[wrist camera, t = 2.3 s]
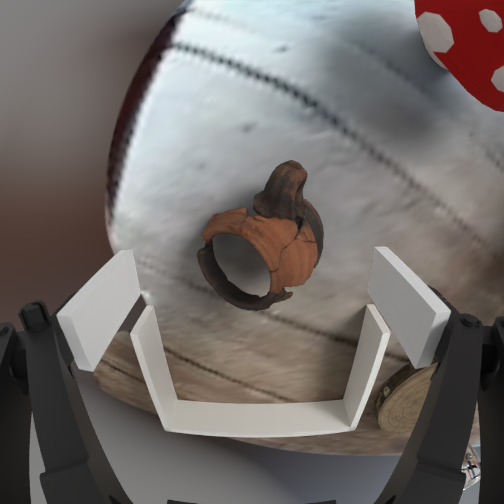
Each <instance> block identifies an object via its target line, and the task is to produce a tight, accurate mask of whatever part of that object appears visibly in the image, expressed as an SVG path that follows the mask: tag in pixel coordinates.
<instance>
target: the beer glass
mask: <svg viewBox="0 0 504 504" xmlns="http://www.w3.org/2000/svg"><path fill="white" fill-rule="evenodd" d="M461 471H462V472H464V473H466V476H467V478H466V482H465V486H464V489H463V490H465V489H467V488H468V487H470V486H472V485H473V484H475V483H476V482H478V481H479V480H480V471H481V461H480V458H479V456H478V454H477V453H476V451H475V450H474V448H473V447H472V446H471V445H470V443H469V442H468V446H467V450H466V454H465V457H464V461H463V464H462V468H461Z"/></svg>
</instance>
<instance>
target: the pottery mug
mask: <svg viewBox="0 0 504 504" xmlns="http://www.w3.org/2000/svg"><path fill="white" fill-rule="evenodd" d="M307 175H308V174H307V171H306V170H305V169H304V168H303V167H302V166H301V164H299V163H298V162H295V161H293V160H290V161H287V162H284V163H282V164H280V165H279V166H277V167H276V169H275V170H274V171H273V173H272V174H271V176H270V178H269V180H268V182H267V183H266V186H265V189H264V191H262V192H260V193H258V194H256V195H255V197H254V202H253V209H254V211H255V212H256V213H258V214H259V215H258V216H253V217H250V216H248V209H247V208H240V209H234V210H229V211H226V212H224V213H222V214H220V215H219V214H218V213H217V214H214V215H213V216H212V218H211V219H210V220H209V222H208V226H207V227H206V229H205V230H204V231H203V232H202V234H201V236H202V237H203V239H204V240H205V247H204V248H202V249H200V250H199V251H198V252H197V257H198V261H199V265H200V267H201V270H202V272H203V274H204V276H205V278H206V280H207V281H208V282H209V284H210V285H211V286H212V287H213V288H214V290H215V291H216V292H217V293H218V295H220V296H221V297H223V298H224V299H225V300H226V301H227V302H229V303H231V304H232V305H234V306H236V307H238V308H241V309H246V310H254V311H258V310H264V309H267V308H269V307H270V306H271V305H272V304H273V303H276V302H280V301H284V300H286V299H288V298H290V297H291V296H292V295H293V292H286V291H285V288H284V287H292V286H299V285H303V284H304V283H305V281H306V280H307V279H309V278H310V276H311V274H312V271H313V268H315V267H316V265H317V264H318V262H319V259H320V257H321V253H322V250H323V237H324V232H323V225H322V222H321V219H320V216H319V214H318V212H317V211H316V210H315V208H314V207H313V206H312V205H311V204H310V203H309V202H308V201H307V200H306V199H303V187H304V184H305V182H306V179H307ZM295 217H297V218H299V219H300V223H299V227H298V226H297V224H296V222H295V221H294V219H295ZM219 233H230V234H235V235H238V236H241V237H242V238H244V239H245V240H247V241H248V242H249V243H250V244H251V245H252V246H253V247H254V248H255V249H256V250H257V251H258V252H259V253H260V255H261V256H262V258H263V259H264V261H265V263H266V265H267V267H268V269H269V271H270V278H271V284H270V290H269V292H268V293H267V295H265V296H263V297H259V296H258V295H251V294H248V293H246V292H243V291H242V290H240V289H239V288H238V287H237V286H235V285H234V284H233V283H231V282H230V281H228V279H227V277H226V275H225V274H224V272H223V271H222V270H221V268H220V267H219V265H218V263H217V261H216V259H215V256H214V251H213V244H212V238H213V237H214V236H215V235H217V234H219Z"/></svg>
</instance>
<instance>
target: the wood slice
mask: <svg viewBox="0 0 504 504" xmlns="http://www.w3.org/2000/svg"><path fill="white" fill-rule="evenodd" d="M438 361H439V360H438V359H437V357H436V356H435V355H434V357H433V360H432V362H431V364H430V366H427V367H423V368H418V369H415V368H414V366H413V364H412V363H411V362H410V363H408V364H407V365H405V366H404V367H403V368H401V369H400V370H399V371H398V372H397V373H395V374H394V375H393V376H392V377H391V378H390V379H389V380H388V381H387V382H386V383H385V385H384V386H383V387H382V388H381V389H380V391H379V393H378V395H377V397H376V399H375V401H374V412H375V415H376V418H377V421H378V424H379V426H380V427H381V429H382V430H384V431H386V432H388V433H405V432H410V431H413V429H414V427H415V424H416V422H417V420H418V417H419V414H420V412H421V409H422V407H423V404H424V401H425V398H426V396H427V393H428V390H429V387H430V384H431V380H430V378H431V376H432V374H433V372H434V370H435V368H436V365H437V363H438Z"/></svg>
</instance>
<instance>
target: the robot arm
mask: <svg viewBox="0 0 504 504" xmlns="http://www.w3.org/2000/svg"><path fill="white" fill-rule="evenodd" d="M367 292H368V293H369V295H370V297H371V298H372V300H373V301H374V303H375V304H376V306H377V307H378V309H379V310H380V312H381V313H382V315H383V317H384V318H385V320H386V321H387V323H388V325H389V326H390V328H391V329H392V331H393V333H394V334H395V336H396V337H397V339H398V341H399V342H400V344H401V346H402V347H403V349H404V351H405V352H406V354H407V356H408V357H409V359H410V361H411V363H412V364H413V366H414V368H415V369H418V368H423V367H427V366H430V364H431V362H432V360H433V357H434V355H435V356H436V357H437V359H438V360H439V361H438V363H437V365H436V368H435V370H434V372H433V374H432V376H431V378H430V380H431V384H430V387H429V390H428V393H427V396H426V398H425V401H424V404H423V407H422V409H421V412H420V414H419V417H418V420H417V422H416V424H415V427H414V429H413V432H412V434H411V436H410V438H409V441H408V443H407V445H406V447H405V449H404V451H403V454H402V456H401V458H400V460H399V462H398V464H397V466H396V468H395V469H394V471H393V473H392V475H391V477H390V479H389V481H388V483H387V484H386V486H385V488H384V489H383V491H382V493H381V494H380V496H379V497H378V499H377V500H376V501H375V503H374V504H458V503H459V500H460V498H461V495H462V492H463V489H464V486H465V482H466V478H467V476H466V473H464V472H462V471H461V468H462V464H463V461H464V457H465V454H466V450H467V446H468V442H469V438H470V434H471V429H472V424H473V419H474V414H475V408H476V402H478V412H479V425H480V445H481V471H480V491H479V503H478V504H504V316H499V317H497V318H496V319H495V321H494V324H493V326H483V325H482V323H481V321H480V320H479V319H478V318H476V317H475V316H472V315H470V314H459V312H458V311H457V310H456V309H455V308H454V307H453V306H452V305H451V304H450V303H449V302H447V300H446V299H445V298H444V297H442V295H441V294H440V293H439V292H438V291H437V290H436V289H434V288H432V287H431V286H429V285H426V284H425V283H424V282H423V281H422V280H421V279H420V278H419V277H418V276H417V275H416V274H415V273H414V272H413V271H412V270H411V269H410V268H408V267H407V266H406V265H405V264H404V263H403V262H402V261H401V260H400V259H399V258H398V257H397V256H396V255H395V254H394V253H393V252H392V251H390V250H389V249H388V248H387V247H374V252H373V259H372V265H371V272H370V278H369V284H368V289H367ZM140 295H141V292H140V287H139V282H138V277H137V272H136V267H135V261H134V255H133V250H120V251H119V252H118V253H117V254H116V255H115V256H114V257H113V258H112V259H111V260H110V261H108V262H107V263H106V264H105V265H104V266H103V267H102V268H101V269H100V270H99V271H98V272H97V273H96V274H95V275H94V276H93V277H92V278H91V279H90V280H89V281H88V282H87V283H86V284H85V285H84V286H83V287H82V288H81V289H80V290H78V291H77V292H75V293H74V294H72V295H71V296H70V297H69V298H68V299H67V300H66V302H64V303H63V304H62V305H61V306H60V307H59V308H58V309H57V310H56V312H54V313H53V315H52V316H51V317H50V316H49V313H48V311H47V308H46V305H45V303H44V302H42V301H34V302H31V303H28V304H26V305H25V306H23V307H22V308H21V309H20V310H19V313H18V314H19V317H20V319H21V322H22V324H23V327H24V329H25V331H22V332H16V330H15V328H14V325H13V324H12V323H10V322H5V323H0V504H31V498H30V479H29V445H30V426H31V414H32V412H33V417H34V423H35V429H36V433H37V438H38V442H39V446H40V451H41V455H42V458H43V461H44V465H45V470H46V471H45V472H44V473H41V474H40V482H41V486H42V489H43V492H44V495H45V498H46V501H47V504H133V503H132V502H131V500H130V499H129V498H128V496H127V495H126V493H125V491H124V490H123V488H122V486H121V484H120V482H119V481H118V479H117V477H116V475H115V473H114V471H113V469H112V467H111V465H110V463H109V461H108V459H107V457H106V455H105V453H104V451H103V449H102V446H101V444H100V442H99V440H98V438H97V435H96V433H95V431H94V428H93V426H92V424H91V421H90V418H89V416H88V413H87V410H86V408H85V405H84V402H83V399H82V397H81V394H80V391H79V388H78V385H77V381H76V379H75V375H74V372H73V369H72V367H71V365H70V364H71V362H72V361H73V359H75V362H76V364H77V366H78V368H79V369H82V370H87V371H92V372H93V371H94V369H95V368H96V366H97V364H98V363H99V361H100V359H101V357H102V356H103V354H104V352H105V351H106V349H107V347H108V346H109V344H110V342H111V341H112V339H113V337H114V336H115V334H116V332H117V331H118V329H119V327H120V326H121V324H122V323H123V321H124V319H125V318H126V316H127V315H128V313H129V312H130V310H131V308H132V307H133V305H134V303H135V302H136V301H137V299H138V298H139V296H140ZM167 504H196V503H187V502H180V501H173V500H168V501H167ZM309 504H336V500H332V501H325V502H318V503H309Z"/></svg>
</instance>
